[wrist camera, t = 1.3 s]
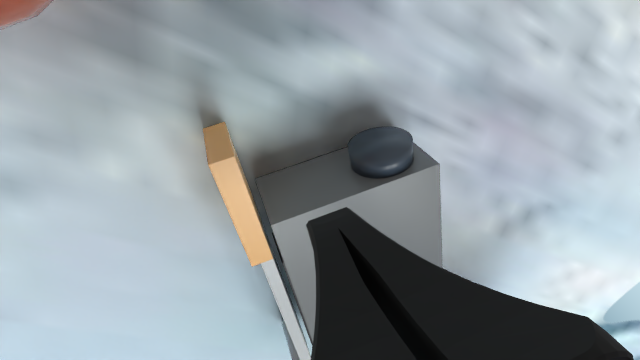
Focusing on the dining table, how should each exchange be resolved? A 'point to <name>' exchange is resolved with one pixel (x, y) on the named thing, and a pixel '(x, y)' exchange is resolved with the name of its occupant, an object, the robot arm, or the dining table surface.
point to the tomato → (20, 10)
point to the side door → (251, 228)
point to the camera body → (355, 202)
